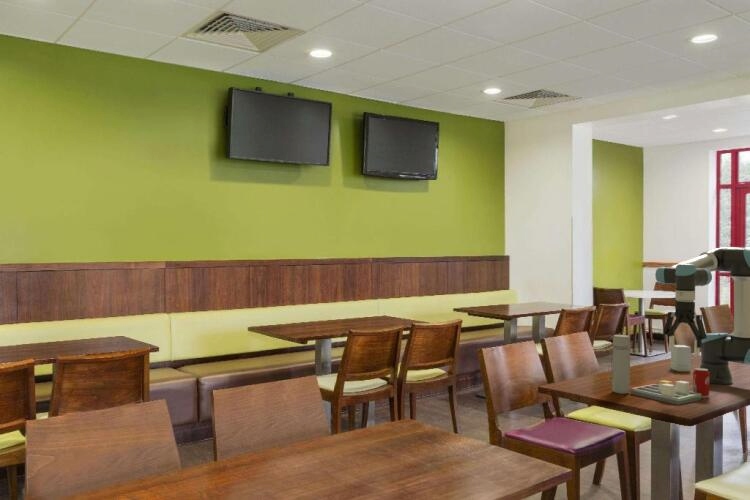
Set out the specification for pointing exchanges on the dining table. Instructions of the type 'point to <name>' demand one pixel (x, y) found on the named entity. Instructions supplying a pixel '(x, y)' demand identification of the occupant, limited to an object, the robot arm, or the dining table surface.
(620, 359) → the water bottle
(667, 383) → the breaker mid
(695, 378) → the beverage can
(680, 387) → the block
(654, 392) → the panel
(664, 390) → the block
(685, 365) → the supplement box
